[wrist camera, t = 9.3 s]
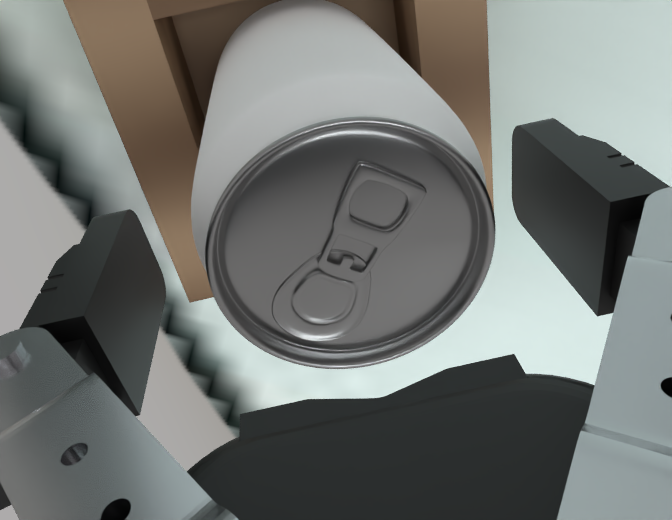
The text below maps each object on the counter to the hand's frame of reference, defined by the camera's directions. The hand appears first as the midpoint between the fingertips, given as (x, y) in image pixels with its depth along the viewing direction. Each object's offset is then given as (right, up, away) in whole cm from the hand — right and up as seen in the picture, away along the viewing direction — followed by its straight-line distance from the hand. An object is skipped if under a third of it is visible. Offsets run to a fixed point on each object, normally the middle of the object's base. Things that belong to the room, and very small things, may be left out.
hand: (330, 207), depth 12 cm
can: (-1, +5, +9) cm, 11 cm away
